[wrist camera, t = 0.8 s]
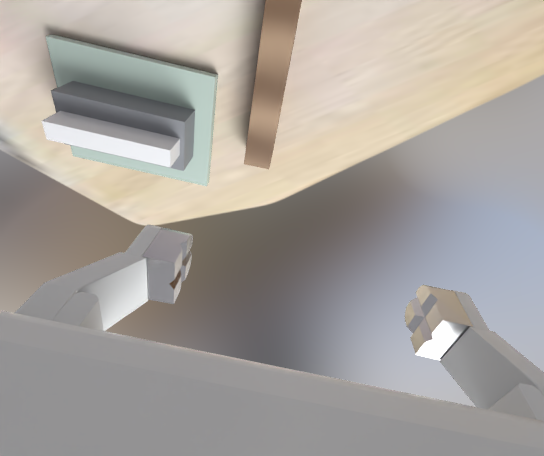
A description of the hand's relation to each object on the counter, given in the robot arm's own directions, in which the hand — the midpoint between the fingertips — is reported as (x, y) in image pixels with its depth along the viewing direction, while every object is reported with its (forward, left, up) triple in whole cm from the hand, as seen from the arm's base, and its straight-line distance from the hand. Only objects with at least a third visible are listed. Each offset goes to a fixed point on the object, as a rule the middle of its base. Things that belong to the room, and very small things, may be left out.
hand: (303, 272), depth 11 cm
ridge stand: (+10, -19, -29) cm, 36 cm away
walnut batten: (+2, -4, -29) cm, 30 cm away
